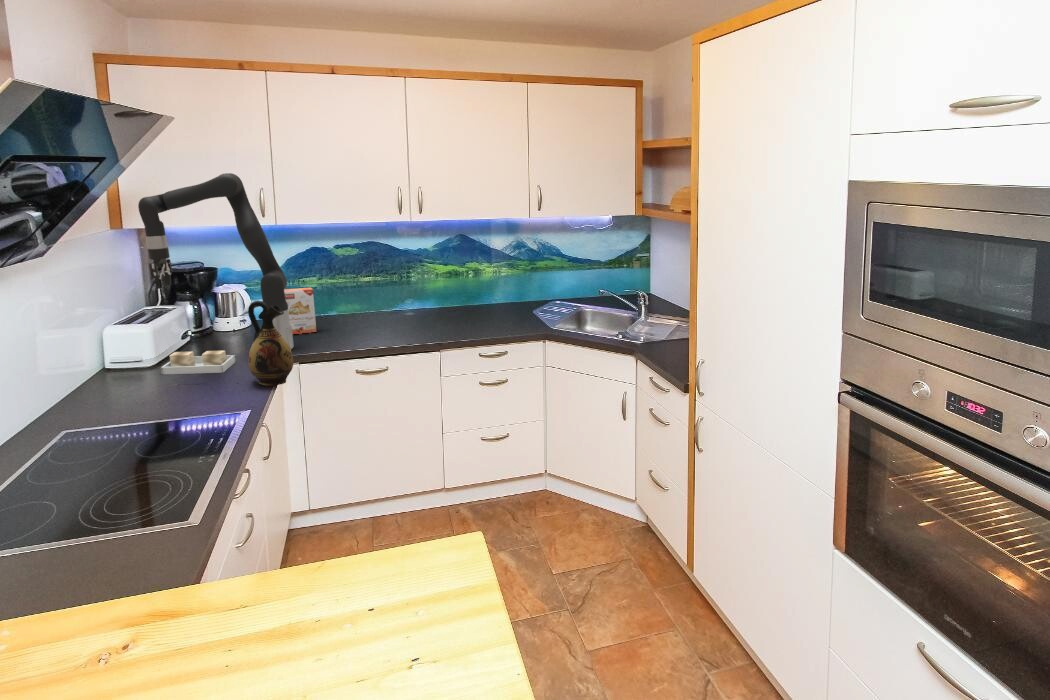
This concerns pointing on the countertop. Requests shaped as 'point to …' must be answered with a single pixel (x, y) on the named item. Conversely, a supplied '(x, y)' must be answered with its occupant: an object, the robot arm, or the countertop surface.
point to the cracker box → (301, 310)
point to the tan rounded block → (182, 359)
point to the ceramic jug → (268, 348)
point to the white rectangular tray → (198, 367)
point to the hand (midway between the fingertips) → (164, 286)
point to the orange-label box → (214, 357)
